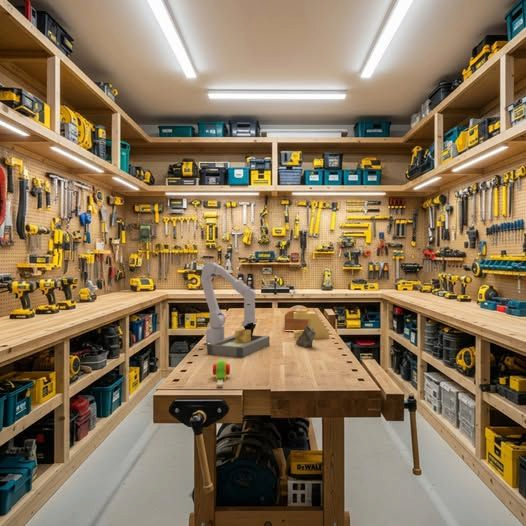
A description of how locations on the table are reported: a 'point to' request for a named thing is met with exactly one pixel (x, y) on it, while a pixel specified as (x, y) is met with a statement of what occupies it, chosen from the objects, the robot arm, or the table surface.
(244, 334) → the block
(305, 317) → the pale yellow sloped piece
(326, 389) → the table surface
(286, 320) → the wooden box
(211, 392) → the table surface
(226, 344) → the trap track
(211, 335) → the robot arm
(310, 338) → the concrete fragment
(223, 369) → the toy measuring tape
